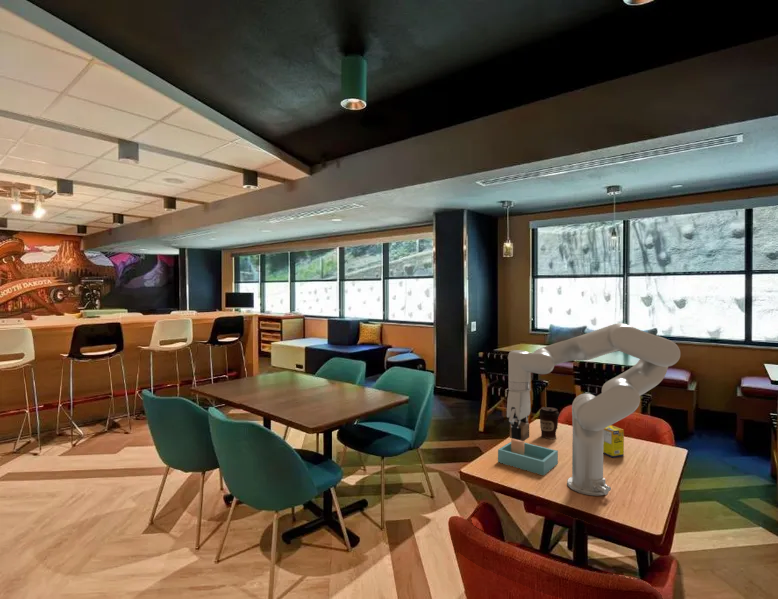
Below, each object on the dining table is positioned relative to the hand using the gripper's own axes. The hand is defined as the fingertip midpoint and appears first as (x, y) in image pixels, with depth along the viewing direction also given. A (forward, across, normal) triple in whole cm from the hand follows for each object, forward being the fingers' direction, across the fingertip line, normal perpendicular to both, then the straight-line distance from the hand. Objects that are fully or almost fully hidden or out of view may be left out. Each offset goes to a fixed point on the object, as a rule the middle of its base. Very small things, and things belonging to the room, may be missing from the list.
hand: (519, 436), depth 150 cm
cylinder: (+14, -15, -8) cm, 22 cm away
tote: (+15, -15, -3) cm, 22 cm away
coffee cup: (+16, -49, -8) cm, 52 cm away
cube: (+1, 0, 0) cm, 1 cm away
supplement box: (+16, -46, +19) cm, 52 cm away
